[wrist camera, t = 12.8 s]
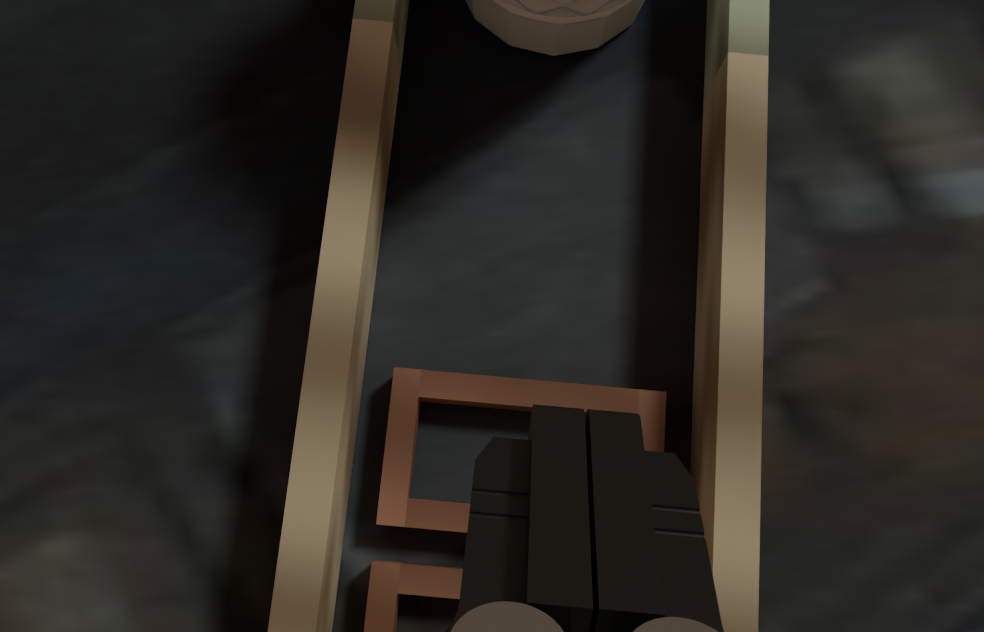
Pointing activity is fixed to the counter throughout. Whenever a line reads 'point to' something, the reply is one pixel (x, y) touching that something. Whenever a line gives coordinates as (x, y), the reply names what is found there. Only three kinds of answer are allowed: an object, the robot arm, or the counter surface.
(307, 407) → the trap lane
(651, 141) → the counter surface
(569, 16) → the white cup
